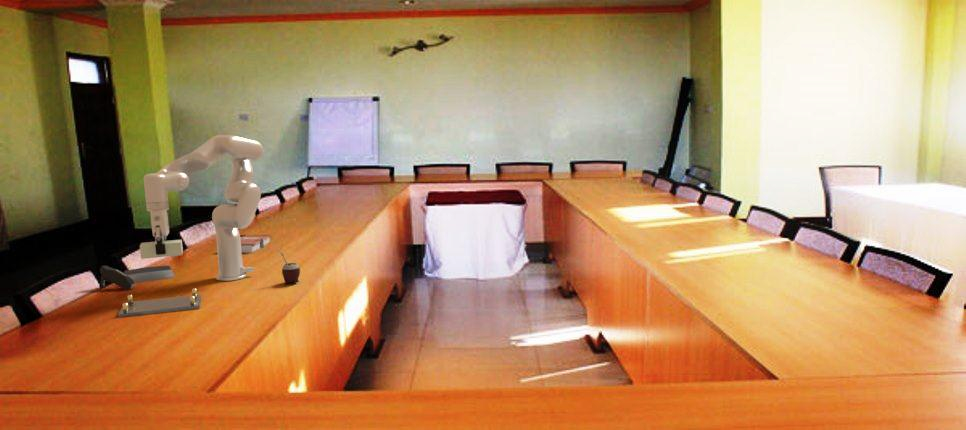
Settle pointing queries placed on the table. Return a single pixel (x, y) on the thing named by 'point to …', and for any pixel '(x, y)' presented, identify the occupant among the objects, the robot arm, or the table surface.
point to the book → (253, 243)
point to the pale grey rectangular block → (170, 247)
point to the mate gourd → (290, 272)
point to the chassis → (160, 305)
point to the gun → (115, 278)
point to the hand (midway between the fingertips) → (162, 252)
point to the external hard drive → (150, 273)
